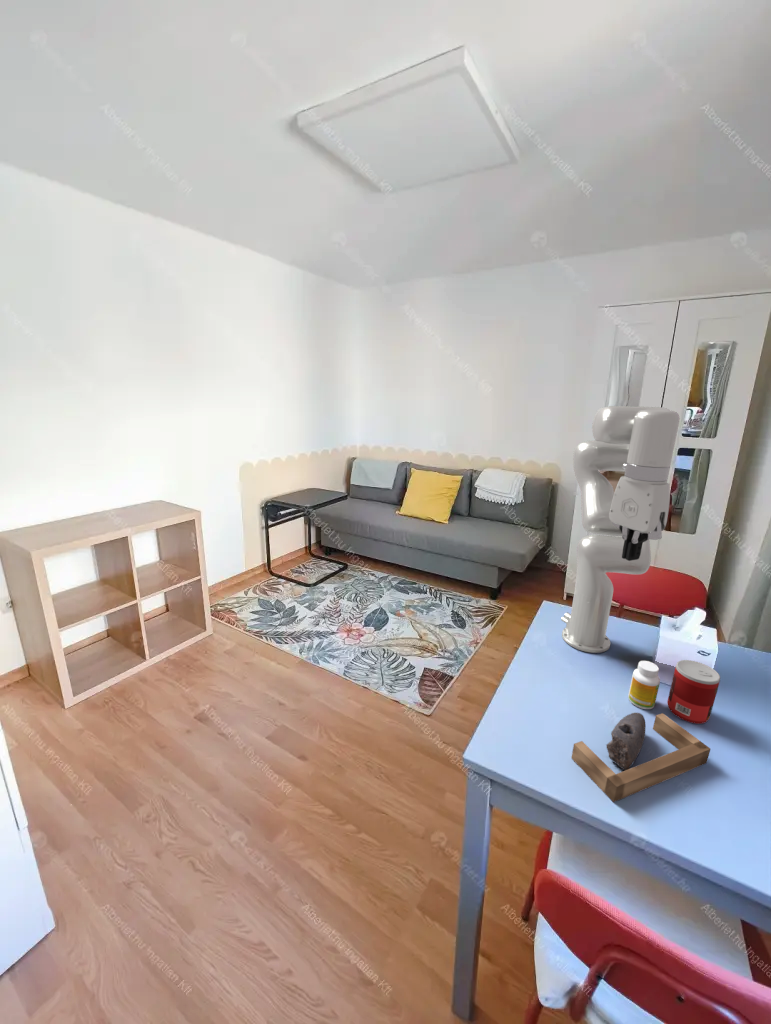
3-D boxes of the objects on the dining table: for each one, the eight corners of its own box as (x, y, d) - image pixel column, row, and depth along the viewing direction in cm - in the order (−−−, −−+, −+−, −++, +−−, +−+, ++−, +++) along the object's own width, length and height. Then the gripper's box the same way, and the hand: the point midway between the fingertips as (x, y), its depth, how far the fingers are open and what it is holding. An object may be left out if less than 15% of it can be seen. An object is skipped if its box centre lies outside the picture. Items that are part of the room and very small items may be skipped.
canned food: (716, 727, 94) (728, 684, 91) (674, 721, 95) (685, 678, 92) (699, 703, 101) (709, 662, 98) (661, 697, 102) (670, 657, 99)
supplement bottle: (655, 713, 98) (664, 676, 95) (628, 705, 100) (636, 669, 97) (653, 698, 102) (661, 662, 100) (627, 691, 104) (634, 656, 102)
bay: (571, 758, 85) (573, 743, 84) (659, 726, 94) (662, 713, 93) (613, 802, 76) (616, 786, 75) (706, 763, 85) (710, 748, 84)
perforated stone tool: (624, 723, 95) (630, 696, 93) (651, 737, 91) (658, 709, 89) (598, 763, 84) (604, 734, 82) (627, 780, 81) (634, 750, 79)
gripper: (602, 467, 92) (589, 548, 98) (667, 482, 79) (649, 575, 84) (628, 465, 95) (614, 544, 100) (696, 479, 82) (676, 570, 87)
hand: (630, 558), depth 92 cm, fingers closed
